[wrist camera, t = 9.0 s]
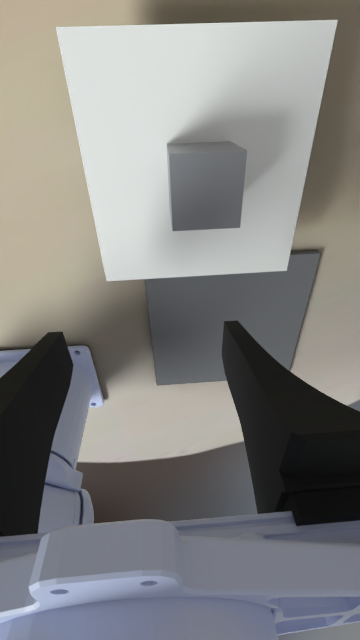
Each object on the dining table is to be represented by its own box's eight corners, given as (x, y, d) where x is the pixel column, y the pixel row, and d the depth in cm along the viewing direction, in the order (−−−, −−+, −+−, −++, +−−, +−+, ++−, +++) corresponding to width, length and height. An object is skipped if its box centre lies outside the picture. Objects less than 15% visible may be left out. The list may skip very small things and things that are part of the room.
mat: (156, 381, 30) (156, 385, 29) (143, 260, 22) (143, 263, 21) (286, 372, 30) (287, 375, 30) (317, 250, 22) (320, 253, 22)
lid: (107, 276, 18) (98, 311, 15) (60, 30, 12) (26, 5, 9) (283, 266, 19) (308, 298, 16) (330, 22, 12) (388, -3, 9)
